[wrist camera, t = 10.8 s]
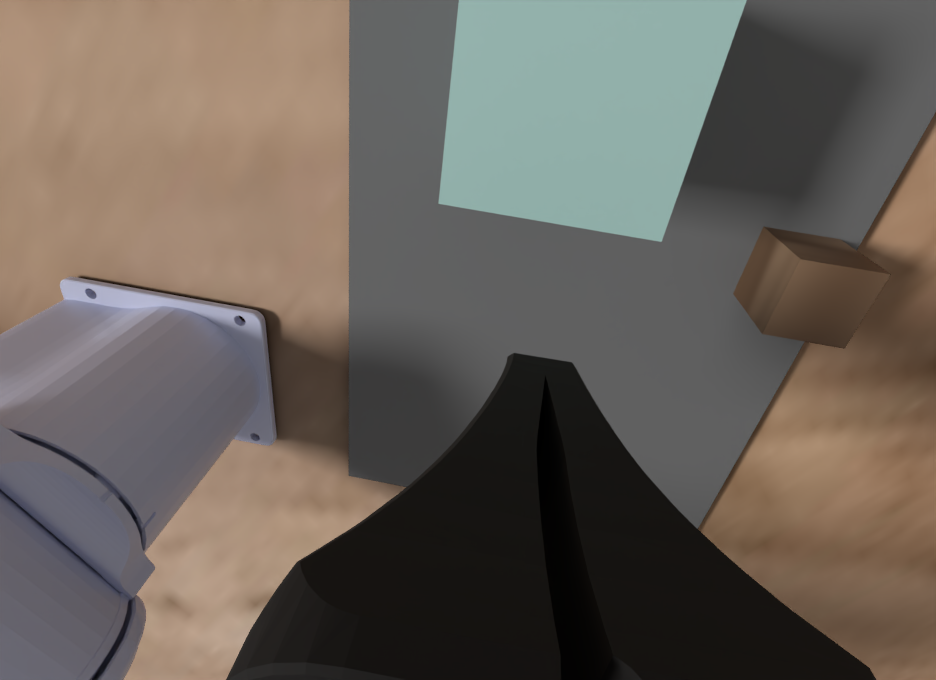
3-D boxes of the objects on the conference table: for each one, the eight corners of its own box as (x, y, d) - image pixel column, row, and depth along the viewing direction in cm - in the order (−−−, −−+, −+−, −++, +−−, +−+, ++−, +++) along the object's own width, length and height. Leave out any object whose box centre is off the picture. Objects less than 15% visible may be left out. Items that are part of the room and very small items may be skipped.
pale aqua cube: (473, 149, 17) (437, 203, 12) (497, -37, 15) (467, -83, 9) (624, 174, 17) (661, 241, 11) (677, -11, 14) (760, -41, 9)
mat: (352, 467, 27) (348, 475, 27) (356, -122, 14) (349, -128, 14) (687, 532, 26) (690, 542, 26) (1001, -33, 14) (1019, -36, 13)
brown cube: (732, 293, 19) (762, 334, 16) (763, 226, 17) (800, 259, 15) (803, 305, 19) (844, 348, 16) (840, 239, 17) (890, 274, 15)
